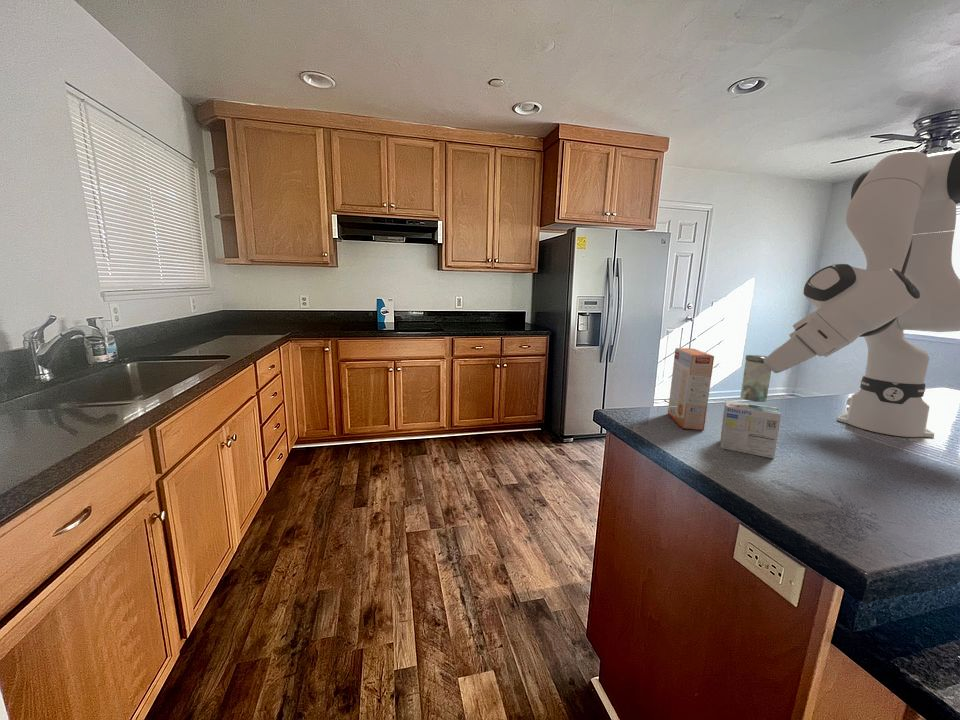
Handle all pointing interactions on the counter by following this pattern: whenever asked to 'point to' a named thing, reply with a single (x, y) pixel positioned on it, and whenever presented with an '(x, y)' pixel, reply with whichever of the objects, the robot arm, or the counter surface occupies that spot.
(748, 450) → the light bulb box
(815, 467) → the counter surface
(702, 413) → the cracker box
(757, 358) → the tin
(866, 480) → the counter surface
